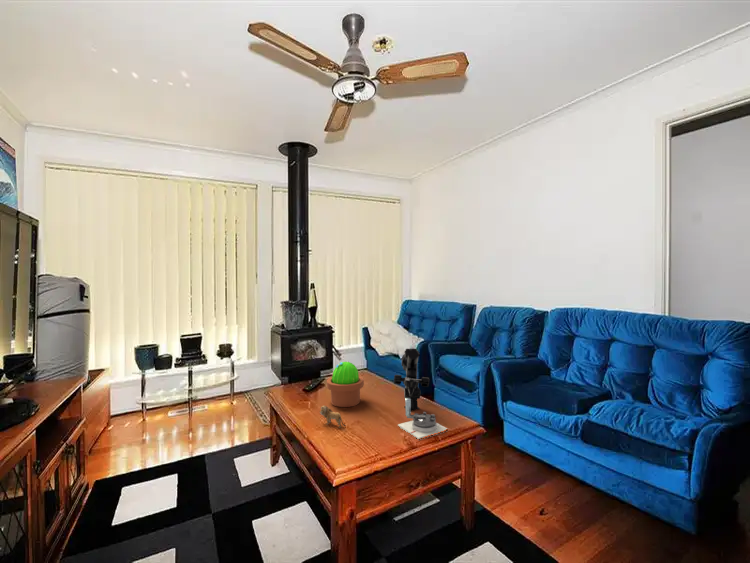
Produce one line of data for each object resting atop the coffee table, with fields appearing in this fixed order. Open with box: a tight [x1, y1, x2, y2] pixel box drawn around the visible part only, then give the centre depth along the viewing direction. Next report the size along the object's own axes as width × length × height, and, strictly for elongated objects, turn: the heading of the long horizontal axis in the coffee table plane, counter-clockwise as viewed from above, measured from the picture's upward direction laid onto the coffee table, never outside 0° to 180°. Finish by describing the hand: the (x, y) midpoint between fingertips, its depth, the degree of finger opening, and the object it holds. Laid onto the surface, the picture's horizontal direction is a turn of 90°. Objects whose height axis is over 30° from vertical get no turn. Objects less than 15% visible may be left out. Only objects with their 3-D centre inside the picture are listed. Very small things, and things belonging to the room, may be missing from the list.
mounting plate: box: [397, 419, 448, 440], centre depth 175 cm, size 17×18×3 cm
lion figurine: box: [319, 405, 347, 429], centre depth 181 cm, size 15×5×9 cm, turn 67°
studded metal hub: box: [404, 397, 437, 428], centre depth 175 cm, size 15×11×12 cm
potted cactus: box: [326, 361, 365, 408], centre depth 212 cm, size 22×22×25 cm
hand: (410, 395), depth 184 cm, fingers closed
